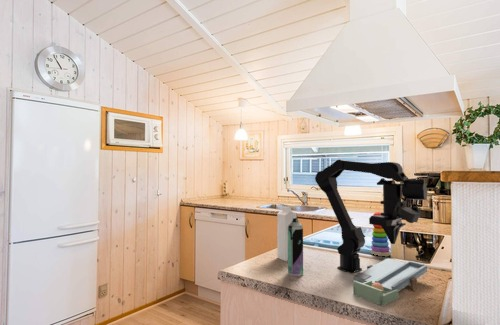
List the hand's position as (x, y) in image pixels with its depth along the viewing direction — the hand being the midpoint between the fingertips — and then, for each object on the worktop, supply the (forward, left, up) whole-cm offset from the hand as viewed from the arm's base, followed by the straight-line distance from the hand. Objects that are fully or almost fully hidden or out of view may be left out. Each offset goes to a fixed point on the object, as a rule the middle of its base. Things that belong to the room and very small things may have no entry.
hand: (392, 243), depth 103 cm
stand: (+1, -3, -12) cm, 13 cm away
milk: (-39, -14, -12) cm, 43 cm away
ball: (+5, -17, -10) cm, 20 cm away
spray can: (-23, -24, -12) cm, 35 cm away
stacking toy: (-20, +24, -12) cm, 34 cm away
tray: (+5, -18, -12) cm, 22 cm away
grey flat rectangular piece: (+1, -3, -9) cm, 10 cm away
